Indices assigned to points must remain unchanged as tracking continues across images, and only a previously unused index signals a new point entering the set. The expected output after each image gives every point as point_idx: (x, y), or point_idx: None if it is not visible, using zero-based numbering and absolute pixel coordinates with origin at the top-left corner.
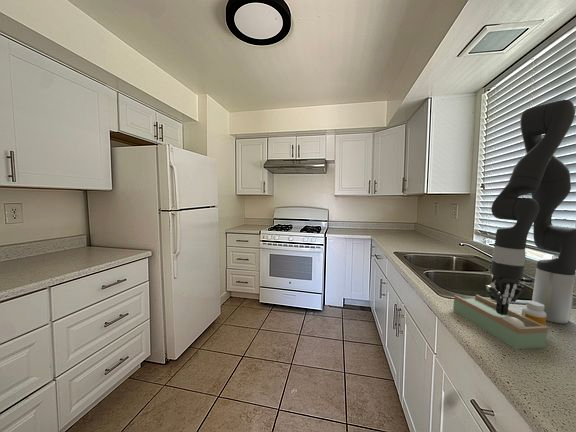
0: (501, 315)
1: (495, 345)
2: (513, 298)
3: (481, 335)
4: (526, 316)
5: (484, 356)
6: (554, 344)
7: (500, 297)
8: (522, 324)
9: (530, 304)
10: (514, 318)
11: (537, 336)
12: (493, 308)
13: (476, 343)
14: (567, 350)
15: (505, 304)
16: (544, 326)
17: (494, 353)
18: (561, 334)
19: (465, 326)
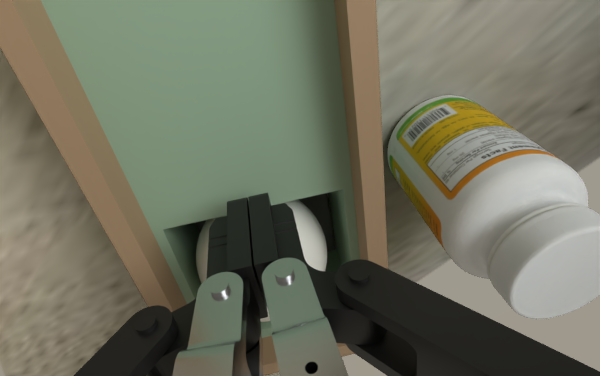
0: (277, 176)
1: (114, 287)
2: (360, 355)
3: (84, 220)
4: (430, 216)
5: (13, 360)
6: (429, 230)
7: (267, 298)
8: None
9: (505, 288)
10: (267, 309)
11: None
12: (315, 44)
13: (15, 291)
14: (433, 261)
15: (260, 318)
16: None
17: (72, 336)
18: (585, 137)
19: (15, 133)
